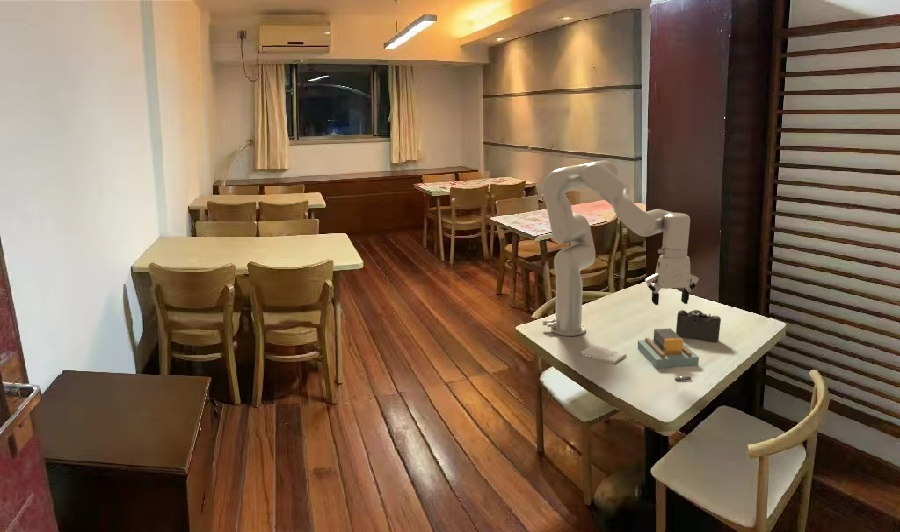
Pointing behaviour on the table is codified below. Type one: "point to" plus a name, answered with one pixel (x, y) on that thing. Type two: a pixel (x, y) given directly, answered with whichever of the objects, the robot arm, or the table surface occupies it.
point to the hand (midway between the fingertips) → (669, 303)
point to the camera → (698, 326)
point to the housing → (668, 341)
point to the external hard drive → (603, 354)
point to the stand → (667, 360)
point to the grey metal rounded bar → (683, 378)
